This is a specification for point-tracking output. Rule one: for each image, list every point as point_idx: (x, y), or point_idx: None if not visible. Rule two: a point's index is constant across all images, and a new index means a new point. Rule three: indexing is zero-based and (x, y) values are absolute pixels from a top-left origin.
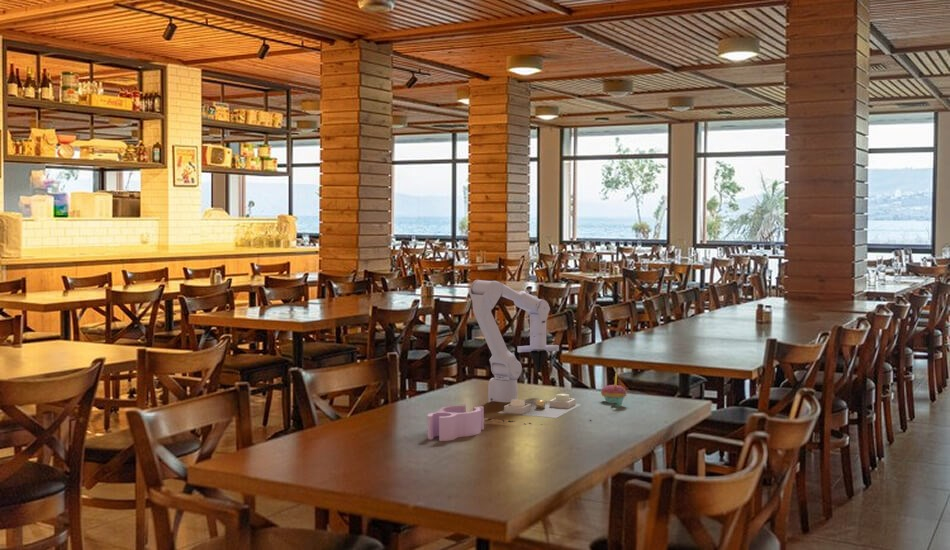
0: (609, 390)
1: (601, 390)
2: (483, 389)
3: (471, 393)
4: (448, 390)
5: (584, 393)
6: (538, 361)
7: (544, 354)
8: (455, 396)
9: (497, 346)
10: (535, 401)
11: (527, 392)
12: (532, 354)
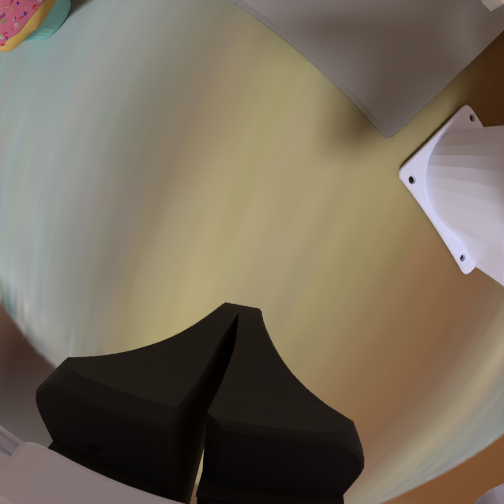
0: None
1: (41, 1)
2: None
3: (427, 433)
4: (438, 467)
5: (45, 283)
6: (239, 358)
7: (96, 375)
8: (489, 400)
9: None
10: (362, 73)
11: None
12: (358, 457)
